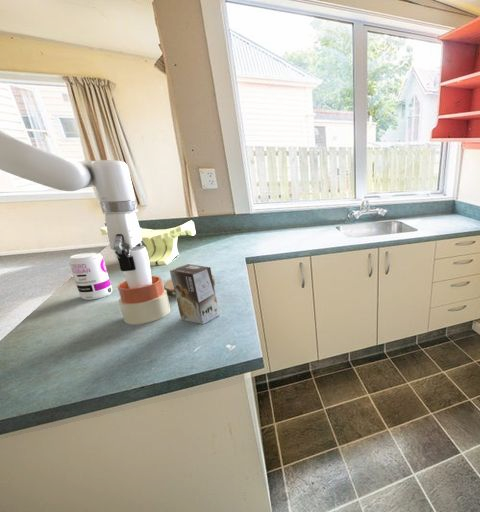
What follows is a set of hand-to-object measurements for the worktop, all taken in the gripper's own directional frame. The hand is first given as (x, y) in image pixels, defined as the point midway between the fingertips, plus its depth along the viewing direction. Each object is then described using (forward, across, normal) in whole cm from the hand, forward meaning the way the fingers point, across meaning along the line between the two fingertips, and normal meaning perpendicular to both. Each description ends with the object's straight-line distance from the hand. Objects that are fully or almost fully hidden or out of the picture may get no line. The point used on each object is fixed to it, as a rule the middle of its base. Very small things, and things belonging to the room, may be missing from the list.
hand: (134, 265), depth 87 cm
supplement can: (+17, -23, -20) cm, 35 cm away
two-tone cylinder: (+16, 0, 0) cm, 17 cm away
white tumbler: (+10, 0, 0) cm, 10 cm away
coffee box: (+17, +8, +15) cm, 24 cm away
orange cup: (+16, 0, 0) cm, 17 cm away
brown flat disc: (+17, -18, +9) cm, 26 cm away
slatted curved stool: (+17, -61, -10) cm, 64 cm away
